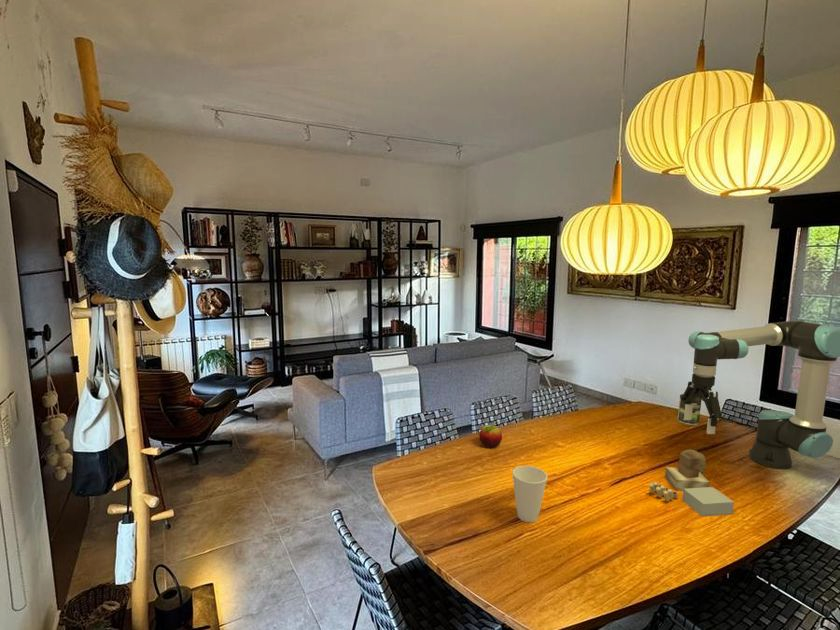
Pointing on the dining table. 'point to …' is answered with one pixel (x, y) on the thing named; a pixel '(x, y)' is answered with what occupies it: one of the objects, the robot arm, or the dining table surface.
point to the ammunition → (662, 491)
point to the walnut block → (689, 465)
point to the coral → (702, 460)
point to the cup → (528, 491)
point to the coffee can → (695, 411)
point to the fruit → (490, 436)
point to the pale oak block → (684, 480)
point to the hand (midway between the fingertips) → (698, 426)
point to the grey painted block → (708, 501)
